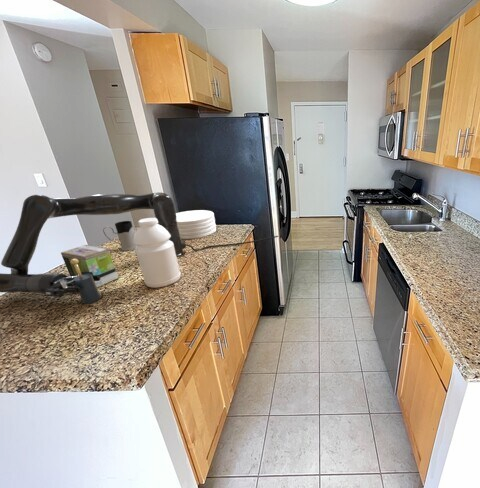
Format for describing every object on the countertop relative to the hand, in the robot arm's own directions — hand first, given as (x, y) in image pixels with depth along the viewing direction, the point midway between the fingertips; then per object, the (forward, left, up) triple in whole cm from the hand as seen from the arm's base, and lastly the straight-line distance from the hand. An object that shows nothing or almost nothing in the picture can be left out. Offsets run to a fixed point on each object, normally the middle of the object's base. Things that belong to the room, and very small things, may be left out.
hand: (89, 283), depth 99 cm
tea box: (+4, -19, -7) cm, 21 cm away
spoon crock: (+1, -1, -7) cm, 7 cm away
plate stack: (-36, -72, -7) cm, 81 cm away
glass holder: (0, -58, -7) cm, 58 cm away
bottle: (-23, -6, -7) cm, 24 cm away
